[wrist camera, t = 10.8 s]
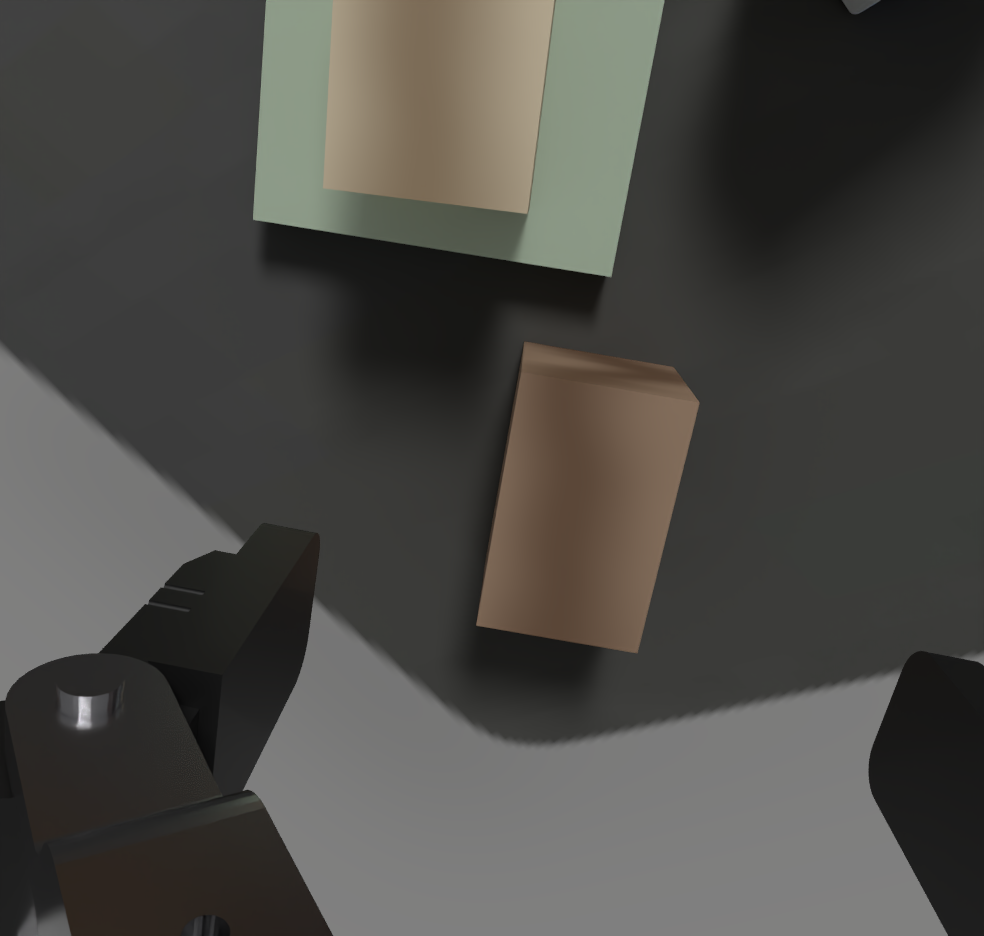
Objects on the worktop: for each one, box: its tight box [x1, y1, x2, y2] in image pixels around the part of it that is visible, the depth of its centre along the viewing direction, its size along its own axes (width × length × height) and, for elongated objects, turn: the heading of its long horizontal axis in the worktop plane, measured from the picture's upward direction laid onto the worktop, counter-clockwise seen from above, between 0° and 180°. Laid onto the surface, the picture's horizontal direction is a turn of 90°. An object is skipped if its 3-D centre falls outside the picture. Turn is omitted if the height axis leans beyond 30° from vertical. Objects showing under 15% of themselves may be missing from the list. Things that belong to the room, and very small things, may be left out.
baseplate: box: [253, 0, 664, 277], centre depth 25 cm, size 11×11×2 cm
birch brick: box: [323, 0, 556, 214], centre depth 22 cm, size 5×8×5 cm, turn 173°
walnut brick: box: [476, 342, 699, 653], centre depth 27 cm, size 5×8×5 cm, turn 171°
